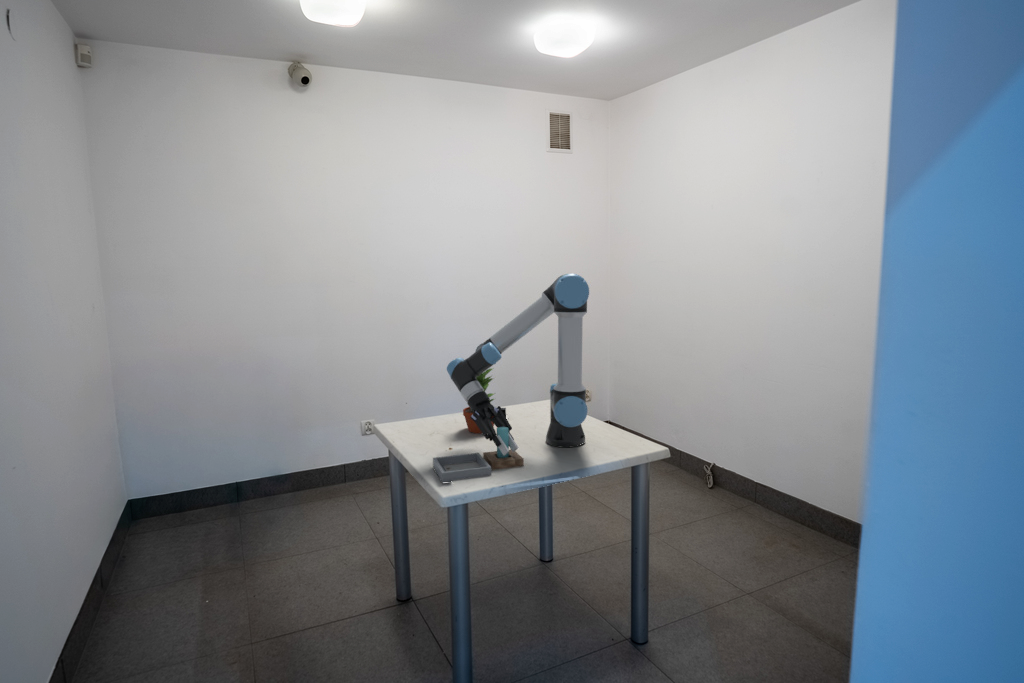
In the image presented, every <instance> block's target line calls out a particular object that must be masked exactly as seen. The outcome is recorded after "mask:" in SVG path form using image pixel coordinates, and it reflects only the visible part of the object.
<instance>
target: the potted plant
mask: <svg viewBox="0 0 1024 683" xmlns="http://www.w3.org/2000/svg"><path fill="white" fill-rule="evenodd" d="M491 371H493V368H488V369H487V370H486V371H484V372H483V373H481V374H480V375H479V376H478V377H476V379H477V380H478V382H479V383H480V385H481V386H482V388H483V389H484V392H486V391H487V389H488V387H489V386H490V385H489V383H490V382H491V381H492V380H494V379H495V377H493V378H491V377H492V375H490V376H488V377H486V376H487V375H488V374H489V373H490V372H491ZM486 394H487V395H488V397H489V398H490V403H491V402H493V401H494V400H495V398H491V397H492V396H494V395H495V394H496V392H494V393H486ZM473 413H474V411H472V410H471V409H470V407H469V406H467V407H465V408H463V410H462V415H463V417H464V419H465V422H466V427H467V429H468V432H469V431H470V432H469V433H471V432H473V434H482V432H481V431H480V429H479V428H478V426H477V425H476V423H475V422H474V421H473V420H472V419H471V418H470V417H471V416H472V414H473ZM491 423H492V425H493V427H494V426H495V424H494V423H493V422H491Z"/></svg>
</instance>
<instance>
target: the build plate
mask: <svg viewBox="0 0 1024 683" xmlns="http://www.w3.org/2000/svg"><path fill="white" fill-rule="evenodd" d="M501 410H502V412H503V414H504V416H505V417H506V415H507V408H506V407H501Z"/></svg>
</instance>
